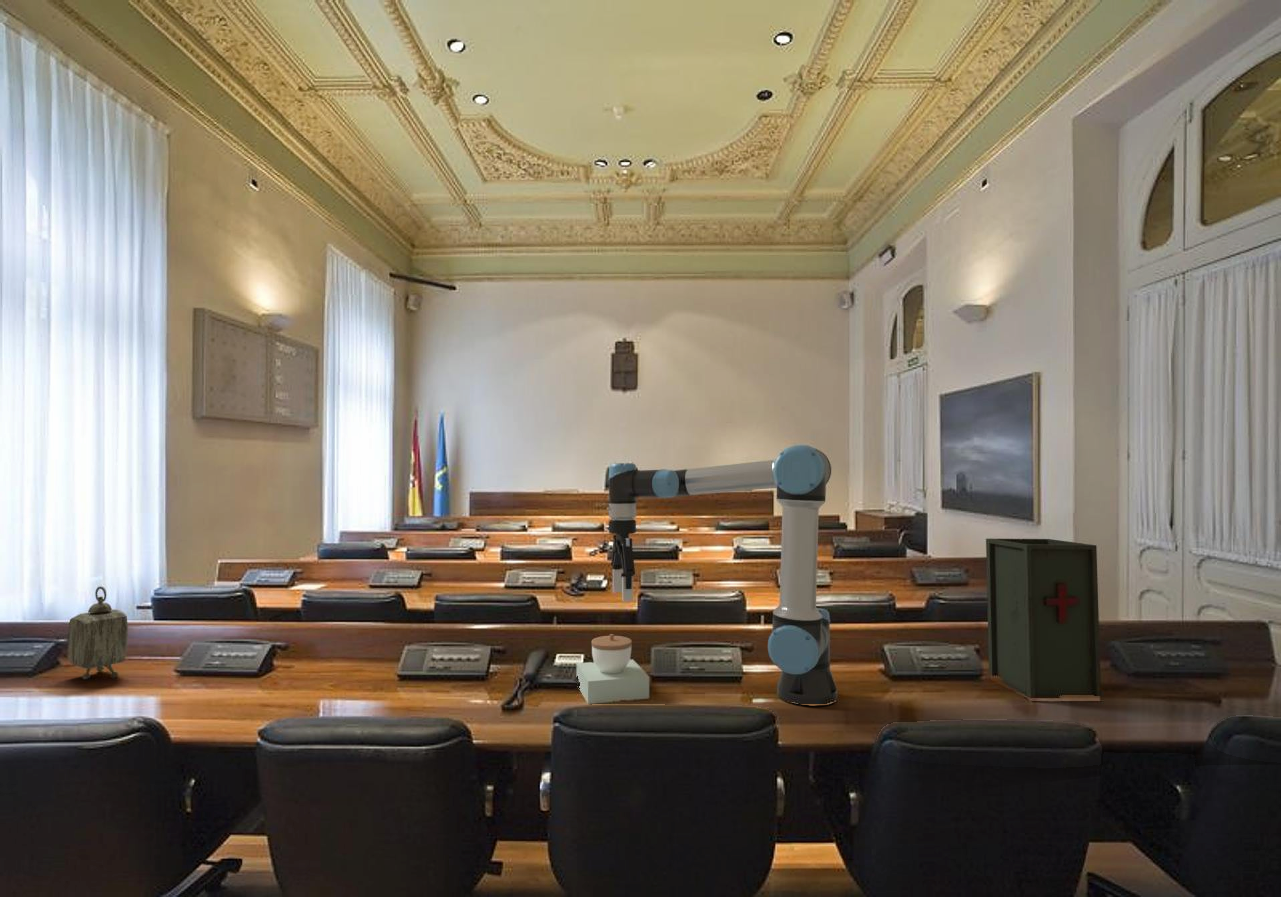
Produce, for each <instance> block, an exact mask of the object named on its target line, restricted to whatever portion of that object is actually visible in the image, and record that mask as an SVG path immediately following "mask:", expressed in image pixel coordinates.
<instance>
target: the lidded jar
mask: <svg viewBox="0 0 1281 897" xmlns="http://www.w3.org/2000/svg"><path fill="white" fill-rule="evenodd" d="M632 643H633V641H632V639H631V638H629V637H626V636H622V635H615V634H613V633H610V634H609V635H603V636H598V637H595V638H593V639H592V640H591V656H592V659H593V660H592V661H593V662H594V663H595V665H596V666H597V667H598V668H599V669H600V671H601V672H603V673H609V674H614V673H620V672H622V671H623V669H624V668H625V667H626V666H627V664H628V662H629V660H631V654H632V646H633V645H632Z"/></svg>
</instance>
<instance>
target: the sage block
mask: <svg viewBox="0 0 1281 897" xmlns="http://www.w3.org/2000/svg"><path fill="white" fill-rule="evenodd" d="M577 676H578V679H579V682H580V686H579V688H580V689H579V688H578V689H579V690H580V693H581V695H582V696H583V698H584V700H585V702H586V703H587V704H588V705H592V704H601V703H611V702H612V703H614V702H613V701H615V702H621V701H620V700H626V701H635V699H636V700H644V699H650V675H649V674H648V673H646V671H645V670H644V669H643V668H642V667H641V666H640V665H639V664H638V663H637V662H636V661H635V660H634V659H631V658H630V660H629V662H628V664H627V666H626V667H625V668H624V669H623V671H622V672H620V673H614V674H609V673H603V672H601V671H600V669H599V668H598V667H597V666H596V665H595V663H594V661H593V662H577V663H576V677H577Z"/></svg>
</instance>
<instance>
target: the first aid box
mask: <svg viewBox="0 0 1281 897" xmlns="http://www.w3.org/2000/svg"><path fill="white" fill-rule="evenodd" d="M985 550H986V551H985V554H986V555H985V556H986V557H985V558H986V561H985V562H986V590H987V591H986V598H987V601H986V602H987V605H986V606H987V640H988V641H987V643H988V646H987V648H988V652H987V653H988V674H989V673H990V674H991V675H992V676H994V675H995V676H996V675H997V676H999V677H1000V678H1002V679H1003V680H1005V681H1001V682H1003V683H1004V684H1006V685H1007V686H1009V687H1010V688H1012V689H1014V690H1016V691H1017V692H1020V693H1021V694H1024V695H1025V696H1027V697H1029V698H1060V697H1059V696H1060V695H1061V696H1062V695H1094V696H1101V697H1102V683H1101V682H1102V681H1101V680H1102V679H1101V678H1102V676H1101V652H1100V649H1101V646H1100V624H1099V623H1100V617H1099V616H1100V615H1099V614H1100V613H1099V589H1098V588H1099V587H1098V586H1099V585H1098V584H1099V583H1098V582H1099V581H1098V579H1099V578H1098V555H1097V554H1098V551H1097V545H1095V544H1090V543H1082V542H1081V543H1080V542H1074V541H1069V540H1060V539H1059V540H1058V539H1051V538H985Z"/></svg>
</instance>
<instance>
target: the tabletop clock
mask: <svg viewBox="0 0 1281 897" xmlns="http://www.w3.org/2000/svg"><path fill="white" fill-rule="evenodd" d="M99 590H102V593H103V594H104V595H103V596H98V592H99ZM94 593H95V599H96V601H97V602H96V603H93V604H92V605H91V606H90V607H89V608H88V612H83V613H79V614H77V615H76V616H73V617H72V618H70V619H69V624H68V634H67V660H68V662H69V663H70V664H71V665H73V666H76V667H79V668H83V669H86V672H85V673H84V674H82V679H83V680H88V679H90V677H91V674H90V671H91V669H94V668H96V671H97V672H98V673H99V672H102V671H104V668H106V669H108V670H109V672H110V673H111V675H110V677H111V678H112V679H116V678H118V677H119V672H118V671H114V669H113V667H112V665H115V664H120V663H123V662H125V660H126V656H127V647H128V617H127V615H126V613H125V612H124V611H121V610H119V609H112V606H111V605H110V604H109V602H108V603H107V602H106V599H107V590H106V588H105V587H103V586H101V585H100V586H98V587H97V588H96V589H95V592H94Z"/></svg>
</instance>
